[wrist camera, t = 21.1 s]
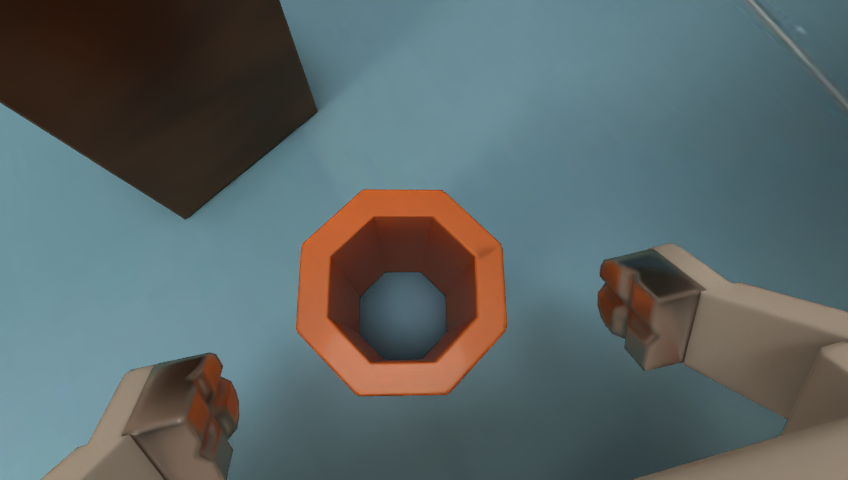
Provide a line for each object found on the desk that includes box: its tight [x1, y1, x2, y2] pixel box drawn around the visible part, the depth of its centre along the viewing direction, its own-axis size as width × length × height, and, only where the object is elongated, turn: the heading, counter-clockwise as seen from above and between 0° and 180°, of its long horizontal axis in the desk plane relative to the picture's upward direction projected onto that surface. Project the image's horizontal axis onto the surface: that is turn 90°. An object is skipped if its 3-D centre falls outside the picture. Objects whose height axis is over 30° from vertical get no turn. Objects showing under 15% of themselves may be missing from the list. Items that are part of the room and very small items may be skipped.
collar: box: [296, 190, 507, 396], centre depth 15 cm, size 5×5×8 cm
